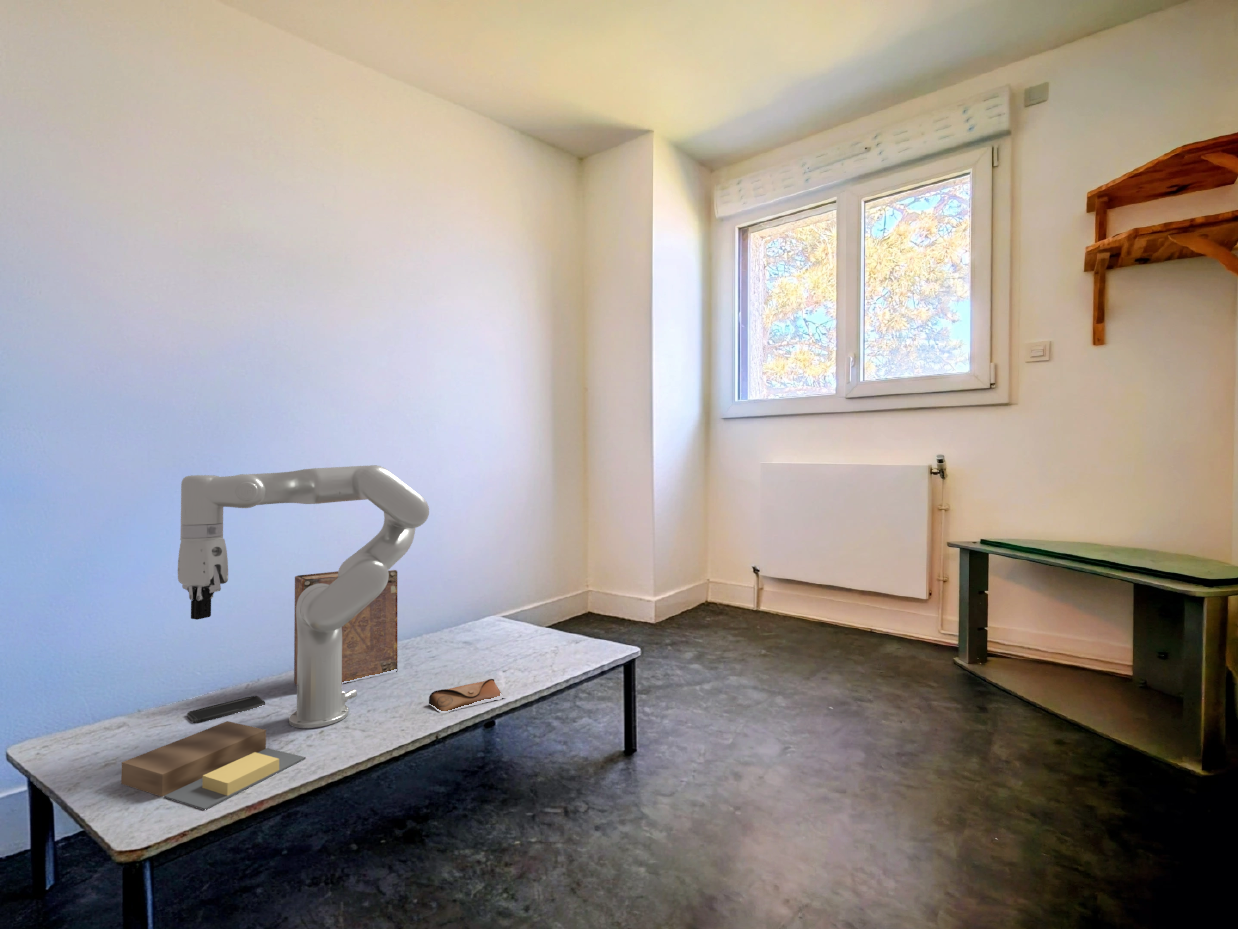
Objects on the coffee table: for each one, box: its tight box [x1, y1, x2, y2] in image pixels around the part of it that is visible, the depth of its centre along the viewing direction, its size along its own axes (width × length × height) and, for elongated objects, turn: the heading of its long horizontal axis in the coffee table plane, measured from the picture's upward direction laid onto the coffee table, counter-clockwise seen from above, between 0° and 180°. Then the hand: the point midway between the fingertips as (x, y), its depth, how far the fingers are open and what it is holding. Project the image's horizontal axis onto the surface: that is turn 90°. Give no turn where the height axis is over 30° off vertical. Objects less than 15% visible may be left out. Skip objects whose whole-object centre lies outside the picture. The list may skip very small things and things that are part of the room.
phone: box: [186, 695, 266, 725], centre depth 145 cm, size 8×1×15 cm
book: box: [293, 569, 398, 686], centre depth 168 cm, size 25×9×30 cm, turn 132°
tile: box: [202, 752, 279, 796], centre depth 111 cm, size 10×7×2 cm
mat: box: [163, 747, 307, 811], centre depth 113 cm, size 20×11×1 cm, turn 158°
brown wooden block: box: [120, 720, 267, 798], centre depth 117 cm, size 20×12×4 cm, turn 158°
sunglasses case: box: [428, 678, 502, 711], centre depth 151 cm, size 18×7×7 cm
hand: (200, 617), depth 127 cm, fingers closed
